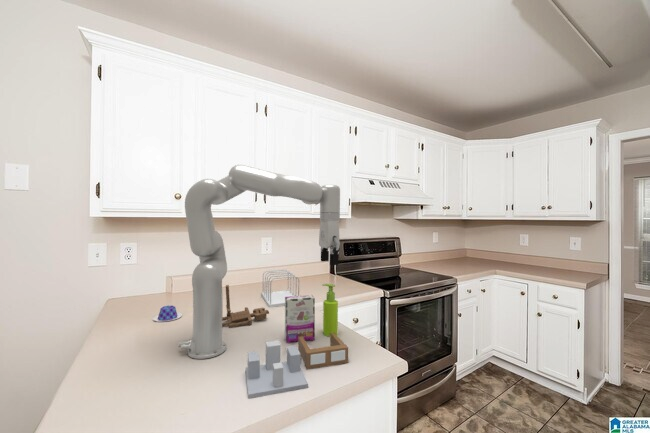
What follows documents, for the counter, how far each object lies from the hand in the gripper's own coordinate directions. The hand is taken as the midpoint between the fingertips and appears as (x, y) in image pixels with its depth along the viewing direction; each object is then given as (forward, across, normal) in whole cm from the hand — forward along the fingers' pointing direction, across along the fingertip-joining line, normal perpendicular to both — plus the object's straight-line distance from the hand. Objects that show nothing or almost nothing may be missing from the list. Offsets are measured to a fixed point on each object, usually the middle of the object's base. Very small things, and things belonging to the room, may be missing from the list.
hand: (329, 263), depth 107 cm
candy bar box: (+30, -7, -9) cm, 33 cm away
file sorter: (+31, -62, -6) cm, 70 cm away
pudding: (+31, -50, -61) cm, 84 cm away
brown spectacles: (+30, +9, -6) cm, 32 cm away
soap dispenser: (+30, -8, +4) cm, 32 cm away
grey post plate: (+30, +18, -23) cm, 42 cm away
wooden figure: (+31, -31, -29) cm, 52 cm away
